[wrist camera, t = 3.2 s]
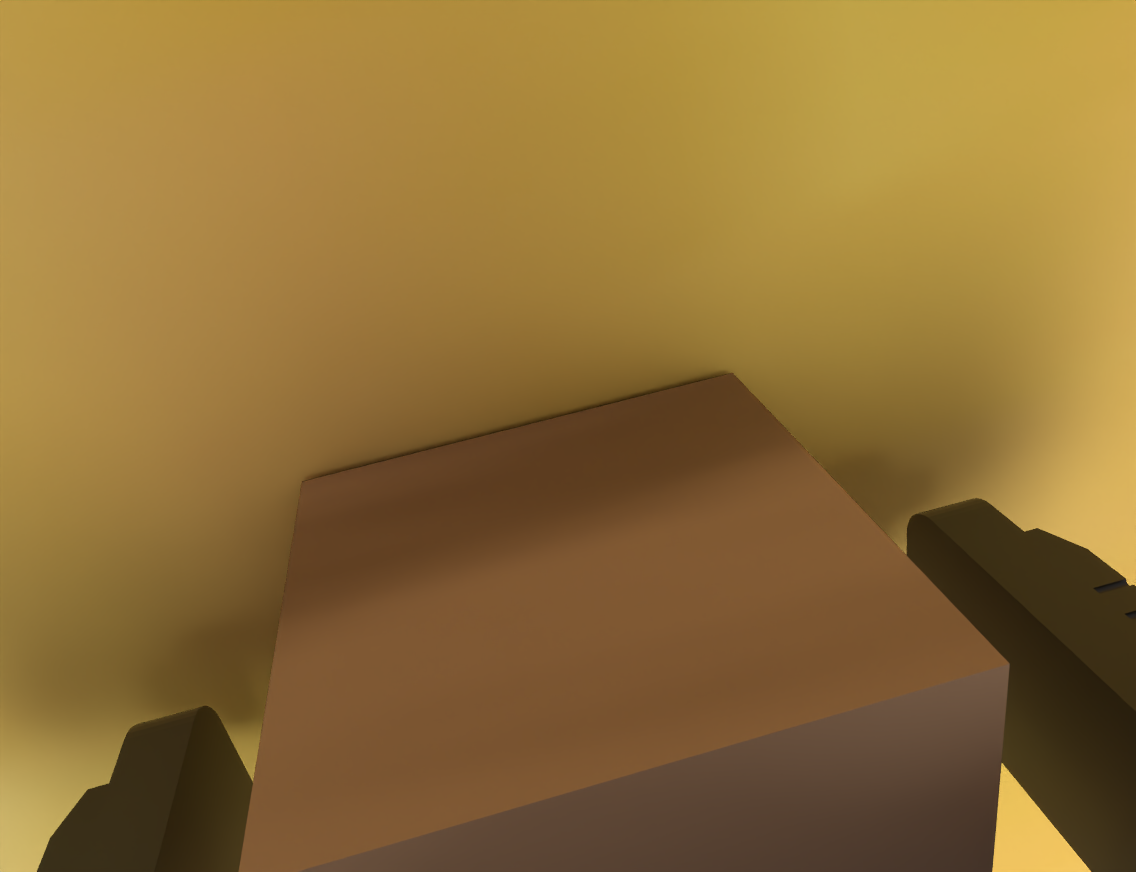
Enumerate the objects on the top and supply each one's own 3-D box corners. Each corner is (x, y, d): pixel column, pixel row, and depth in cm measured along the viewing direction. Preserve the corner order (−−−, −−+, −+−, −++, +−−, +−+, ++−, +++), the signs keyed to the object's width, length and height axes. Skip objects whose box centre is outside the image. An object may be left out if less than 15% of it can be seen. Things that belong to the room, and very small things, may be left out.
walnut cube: (302, 481, 10) (236, 890, 5) (731, 372, 10) (1010, 664, 6) (419, 786, 12) (442, 1245, 8) (763, 688, 12) (975, 1068, 8)
